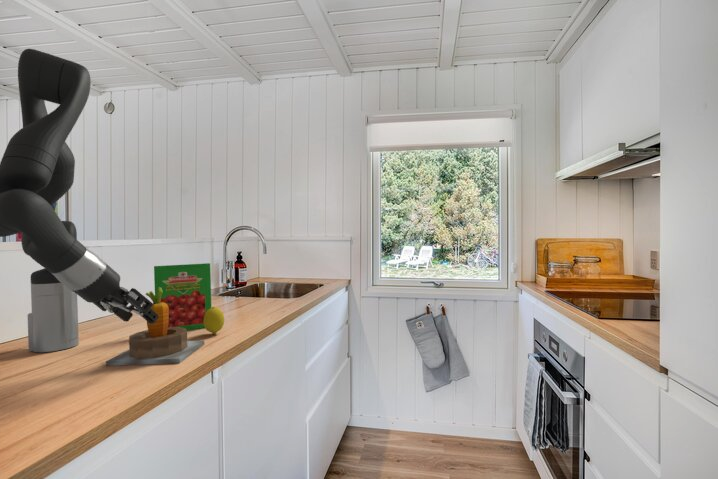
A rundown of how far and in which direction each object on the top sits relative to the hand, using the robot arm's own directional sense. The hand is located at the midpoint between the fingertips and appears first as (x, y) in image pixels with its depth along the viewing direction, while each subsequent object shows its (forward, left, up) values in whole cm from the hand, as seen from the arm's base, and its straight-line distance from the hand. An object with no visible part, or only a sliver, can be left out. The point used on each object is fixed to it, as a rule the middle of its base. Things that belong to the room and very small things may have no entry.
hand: (142, 319), depth 83 cm
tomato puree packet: (-2, +27, -10) cm, 29 cm away
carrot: (+2, +4, -9) cm, 9 cm away
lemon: (+9, +21, -10) cm, 25 cm away
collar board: (+2, +4, -9) cm, 10 cm away
